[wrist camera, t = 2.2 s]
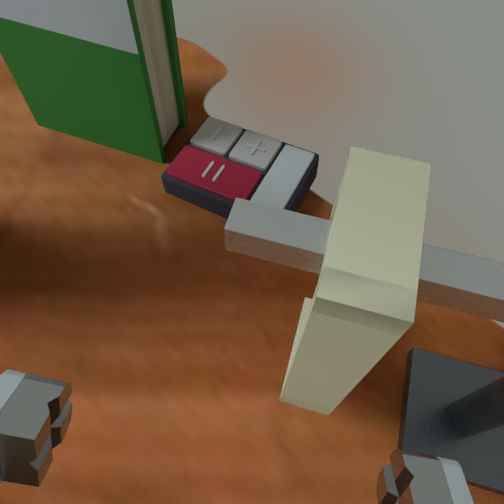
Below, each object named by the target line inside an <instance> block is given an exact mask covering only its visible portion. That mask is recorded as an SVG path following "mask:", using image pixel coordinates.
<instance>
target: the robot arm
mask: <svg viewBox="0 0 504 504" xmlns="http://www.w3.org/2000/svg"><path fill="white" fill-rule="evenodd" d="M71 393H72V386H71V383H68V382H63V381H59V380H55V379H50V378H46V377H41V376H37V375H32V374H28V373H24V372H19V371H14V370H9V369H7V370H6V371H5V372H3V373H2V374H1V375H0V484H1V483H2V482H1V481H4V482H10V483H16V484H22V485H28V486H35V487H39V486H40V484H41V482H42V480H43V478H44V476H45V474H46V472H47V470H48V469H49V467H50V465H51V463H52V461H53V458H52V449H53V448H55V447H56V446H58V445H59V444H61V442H62V440H63V438H64V436H65V434H66V432H67V429H68V426H69V423H70V420H71V415H72V404H71V402H70V401H69V400H68V399H69V397H70V395H71ZM390 461H391V464H389V465H386V466H384V467H383V468H382V470H381V472H380V473H379V476H378V481H377V500H378V504H474V503H473V500H472V497H471V494H470V491H469V488H468V485H467V483H466V480H465V477H464V474H463V471H462V468H461V466H460V464H459V463H458V462H457V461H455V460H452V459H446V458H441V457H435V456H434V455H429V454H423V453H418V452H412V451H407V450H402V449H396V450H394V451H393V452H392V454H391V455H390Z"/></svg>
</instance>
